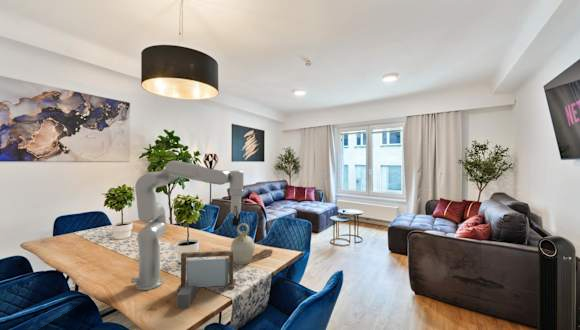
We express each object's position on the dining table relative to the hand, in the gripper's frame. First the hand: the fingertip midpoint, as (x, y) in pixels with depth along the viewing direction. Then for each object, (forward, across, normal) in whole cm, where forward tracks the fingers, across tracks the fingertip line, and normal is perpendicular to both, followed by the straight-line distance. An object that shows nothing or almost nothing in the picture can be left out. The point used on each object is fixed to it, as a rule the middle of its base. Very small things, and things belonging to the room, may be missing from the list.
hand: (236, 223), depth 128 cm
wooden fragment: (+32, -32, +15) cm, 48 cm away
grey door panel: (+31, +6, -14) cm, 34 cm away
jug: (+31, -25, +2) cm, 40 cm away
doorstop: (+31, +16, -21) cm, 41 cm away
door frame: (+31, +6, -14) cm, 35 cm away
